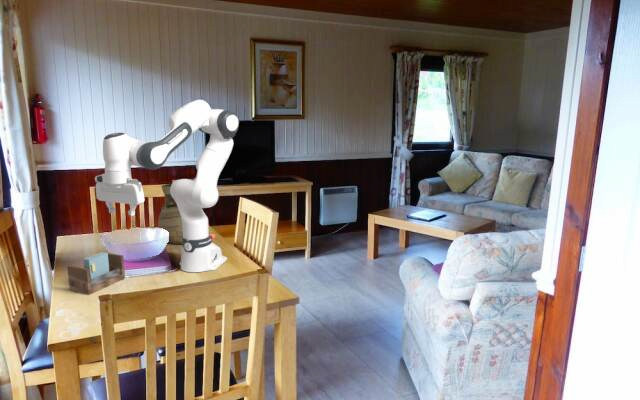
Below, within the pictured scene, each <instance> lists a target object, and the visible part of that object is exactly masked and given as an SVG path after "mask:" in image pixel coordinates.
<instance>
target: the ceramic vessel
mask: <svg viewBox="0 0 640 400" xmlns="http://www.w3.org/2000/svg"><path fill="white" fill-rule="evenodd" d="M172 184H173V183H165V184H163V185H161V190H162V192H163V194H164V195H163V196H164V203H165V204H164V205H163V206H162V207H161V208H160V213H159V216H158V229H159V228H163V229H165V230H167V231H168V232H169V242H168V243H167V244H170V245H182V237H183V230H182V220H181V216H180V212H179V209H178V207H177V204H176V202H175V200H174V199H173V198H172V196H171V194H170V188H171V185H172Z"/></svg>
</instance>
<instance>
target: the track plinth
mask: <svg viewBox="0 0 640 400" xmlns="http://www.w3.org/2000/svg"><path fill="white" fill-rule="evenodd" d="M105 253H108V262H109V272H108V273H106V274H103V275H101V276H98V277H96V278H94V279H91V280H90V272H89V269H87V268H84V267H82V266H76V265H71V264H70V265H67V266H66V268H67V276H68V277H67V279H68V286H69V291H70V292H74V293H79V294H83V295H87V296H90V295H92V294H94V293H97V292H99V291H101V290H102V289H105V288H107V287H110V286H112V285H114V284H117V283H118V282H121V281H123V280H125V279H126V273H125V262H124V261H125V260H124V255H122V254H117V253H111V252H106V251H105ZM124 278H125V279H124ZM120 280H121V281H120ZM111 284H112V285H111ZM109 285H110V286H109Z"/></svg>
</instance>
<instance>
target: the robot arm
mask: <svg viewBox="0 0 640 400" xmlns="http://www.w3.org/2000/svg"><path fill="white" fill-rule="evenodd" d="M239 124H240V119H239V115H238V114H237V113H236V112H234V111H232V110H230V109H229V110H228V109H220V108H211V106H210V105H209V103H208V102H207V101H205V100H203V99H196V100H193V101H191V102H188V103H186V104H183V106H181V107H180V108H179V107H178V108H177V110H175V111H174V112H173V113H171V115H170V116H169V117H168V127H169V129H170V131H169V132H167V133H166V135H164V136H163V137H161V138H160V139H159V140H156V141H142V140H139V139H136V138H133V137H132V136H129V135H127V134H126V133H124V132H114V133H108V134H107V135H105V136H104V138H103V141H102V156H103V157H102V158H103V161H104V164H105V165H104V173H102V174H99V175H95V177H94V181H95V183H96V184H95V194H96V198H97V199H98V201H101V202H105V205H106V207H107V209H108V213H109V214H115V213H116V212H117V211H116V208H115V207H114V205H113V203H116V204H117V203H118V204H126V205H129V207H130V209H129V210H127V214H128V216H130V217H132V216H133V217H134V216H135V214H136V211H135V210H136V208H137V206H138V205H142V204H144V202H145V194H144V189H143V185H142V182H141V181H139V179H137V178H132V177H133V176H132V170H131V167H132V166H137V167H140V168H144V169H147V170H150V171H151V170H152V171H154V170H158V169H160V168H161V167H163V166H164V165H165V163H166V161H167V160H168V158H169V157H170V155H171V154H172V153H173V152H174V151H176V150H177V149H178V148H179V147H180V146H182V145H183V144H184V142H186V141H187V140H188V139H189V138H190V137H191V136H192V135H193V134H194V133H196V132H197V131H200V132H201V133H204V134H209V136H210V137H209V141H208V143H207V144H206V146H204V148H203V151H202V152H201V154H200V156H199V157H198V159H197V161H196V162H195V168H196V170H197V171H196V176H195V178H194V179H189V178H180V179H176V180H174V181H173V182H172V183H171V184H172V185H171V188H170V194H171V196H172V198H173V199H174V200H175V202H176V204H177V207H178V209H179V212H180V216H181V220H182V230H183V237H182V244H181V246H182V247H181V250H180V251H181V253H180V254H181V255H180V257H181V258H180V261H179V266H180V270H182V272H183V271H184V272H186V273H202V272H207V271H216V270H217V269H218V268H219V267H220V266H222V265H223V264H224V263H225V262H226V261H228V257H227V256H224V255H223V253H222V252H223V251H222V248H221V247H220V246H218V245H217V244H216V243H214V242H212V240H214V239H215V238H216V234H214V233H213V234H212V233H210V231H209V230H210V229H209V218H208V216H207V215H206V213H205V212H204V210H203V209H207V208H211V207H214V206H215V205H216V204H217V202H218V201H219V198H220V196H219V195H220V194H219V191H218V190H219V189H218V180H219V177H220V175H221V172H222V171H223V169H224V167H225V166H226V163H227V161H228V160H229V157H230V155H231V153H232V151H233V147H234V139H233V138H234V137H235V136H236V133H237V132H238V130H239V126H240V125H239Z"/></svg>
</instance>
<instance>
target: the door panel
mask: <svg viewBox="0 0 640 400" xmlns="http://www.w3.org/2000/svg"><path fill="white" fill-rule="evenodd" d="M105 252H106V251H105ZM105 252H104V251H101V252H98V253H95V254H93V255H91V256H88V257H85V258H82V259H83V261H82V262H83V266H84V267H83V268H87V269H89V272H90V280H91V279H94V278H96V277H98V276H101V275H103V274H106V273H108V272H109V262H108V253H109V252H106V253H105Z"/></svg>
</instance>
